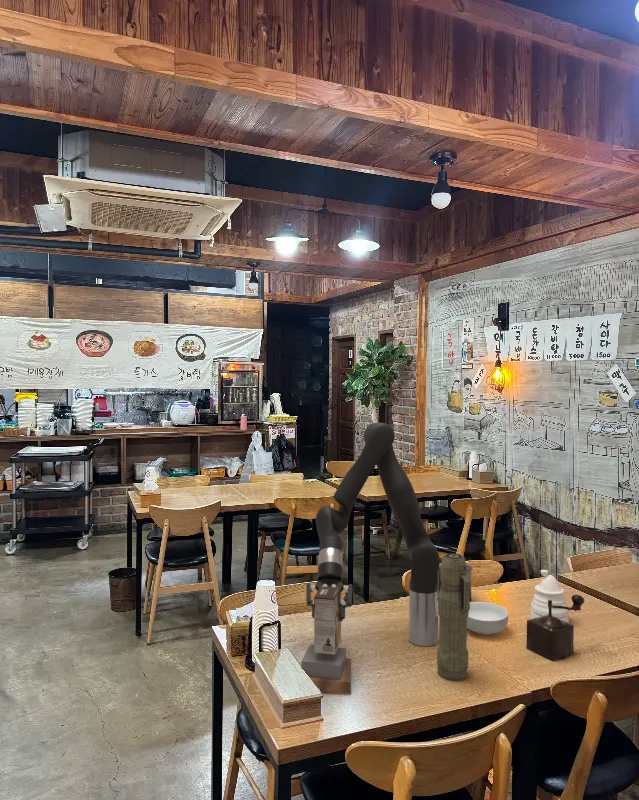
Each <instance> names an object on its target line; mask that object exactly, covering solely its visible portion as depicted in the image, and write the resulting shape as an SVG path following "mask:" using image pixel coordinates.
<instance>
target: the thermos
mask: <svg viewBox="0 0 639 800" xmlns="http://www.w3.org/2000/svg"><path fill="white" fill-rule="evenodd" d="M467 565H468V564H467V562H466V559H465V556H463V555H461V554H460V553H455V552H454V553H453V552H451V553H446V554H444V555H443V556H442V560H441V562H440V565H439V570H438V589H437V598H438V601H437V614H438V647H437V651H436V665H437V675H438V676H439V677H440V678H441V679H444V680H446V681H450V682H460V681H463V680H466V679H467V677H468V669H469V651H468V648H467V638H468V637H467V634H468V633H467V631H468V630H467V629H468V628H467V618H468V613H469V610H470V580H469V577H468V576H467Z"/></svg>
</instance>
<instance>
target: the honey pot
mask: <svg viewBox="0 0 639 800" xmlns="http://www.w3.org/2000/svg"><path fill="white" fill-rule="evenodd" d="M540 574H541V575H542V576H543V579H541V581H540V583H539V584H537V585H535V586H534V591H535V593H534V595H533V598H532V601H531V602H530V603H531V604H530V619H534V618H538V617H541V616H545V615H549V607H548V604H549V603H548V600H552V605H553V606H565V607H568V603H567V599H566V598H565V595H564V594H565V590H564V589H563V588H562V587H561V586H560V583H559V581H558V580H557V579H556V577H555V576H553V575H552V574H549V570H547V569H541V570H540ZM569 611H570V610H567V609H561V608H552V616H554V617H556V618H558V619H560V620H562V621H565V622H567V623H570V618H569V617H570V614H569V613H570V612H569Z"/></svg>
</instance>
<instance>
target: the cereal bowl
mask: <svg viewBox="0 0 639 800" xmlns="http://www.w3.org/2000/svg"><path fill="white" fill-rule="evenodd" d="M508 622H509V612H508V610H507V609H506V608H504V607H503V606H501V605H498V604H496V603H493V602H492V603H491V602H487V601H471V602H470V610H469V613H468V618H467V629H468V630H469V631H472V632H474V633H475V634H479V635H482V636H483V635H484V636H488V635H489V636H490V635H493V634H496V633H499V632H502V631H503V630H505V628H506V627H507V626H508Z"/></svg>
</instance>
